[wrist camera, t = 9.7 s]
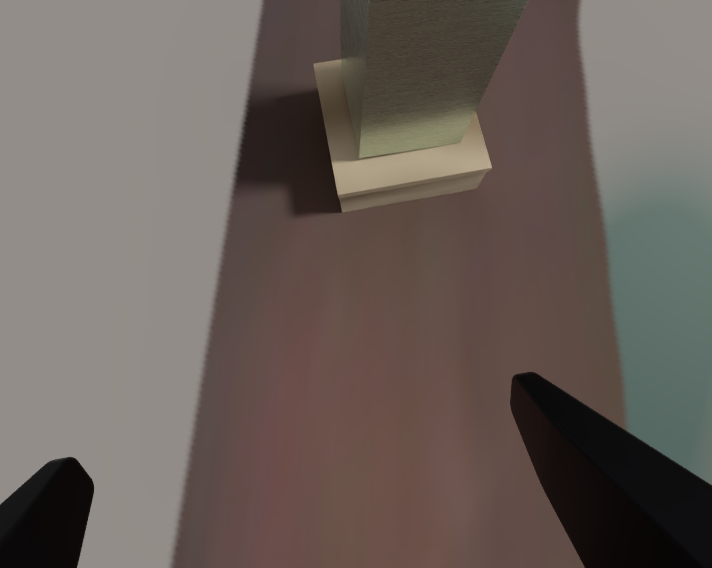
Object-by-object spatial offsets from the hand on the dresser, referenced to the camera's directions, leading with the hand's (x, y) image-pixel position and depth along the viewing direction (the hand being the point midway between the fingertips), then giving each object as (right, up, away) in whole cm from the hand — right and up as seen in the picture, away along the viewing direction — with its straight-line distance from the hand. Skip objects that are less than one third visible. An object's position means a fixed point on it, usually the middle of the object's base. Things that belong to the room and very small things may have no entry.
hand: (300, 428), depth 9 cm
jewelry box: (+4, +11, +17) cm, 21 cm away
